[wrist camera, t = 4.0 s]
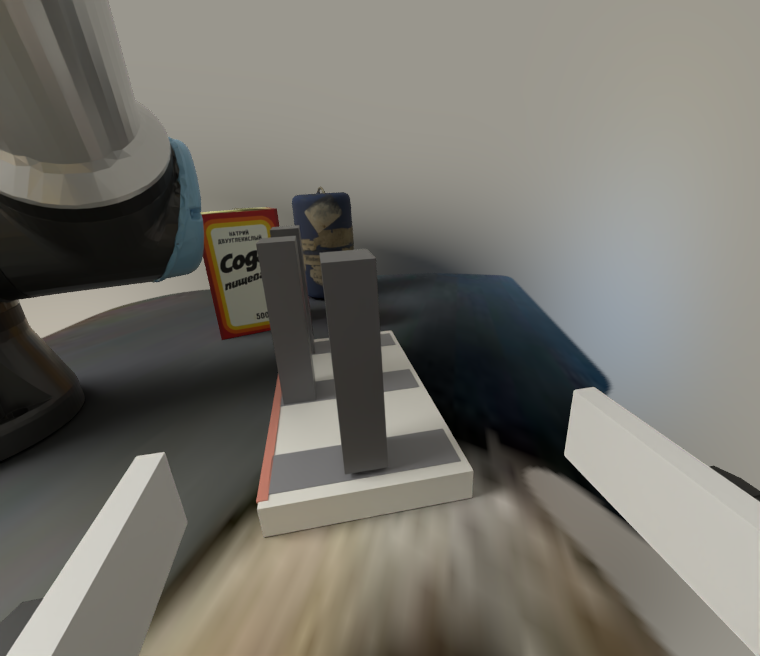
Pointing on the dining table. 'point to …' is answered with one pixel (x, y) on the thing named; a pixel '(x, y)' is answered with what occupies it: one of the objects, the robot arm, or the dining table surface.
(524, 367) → the dining table surface
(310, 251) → the dark blue cylinder
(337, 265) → the block
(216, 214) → the baking soda box
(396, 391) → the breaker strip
